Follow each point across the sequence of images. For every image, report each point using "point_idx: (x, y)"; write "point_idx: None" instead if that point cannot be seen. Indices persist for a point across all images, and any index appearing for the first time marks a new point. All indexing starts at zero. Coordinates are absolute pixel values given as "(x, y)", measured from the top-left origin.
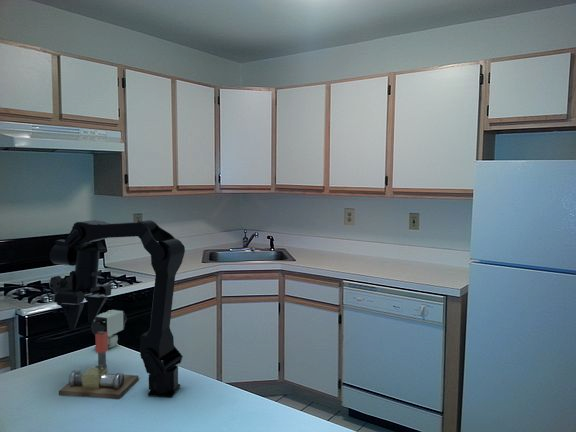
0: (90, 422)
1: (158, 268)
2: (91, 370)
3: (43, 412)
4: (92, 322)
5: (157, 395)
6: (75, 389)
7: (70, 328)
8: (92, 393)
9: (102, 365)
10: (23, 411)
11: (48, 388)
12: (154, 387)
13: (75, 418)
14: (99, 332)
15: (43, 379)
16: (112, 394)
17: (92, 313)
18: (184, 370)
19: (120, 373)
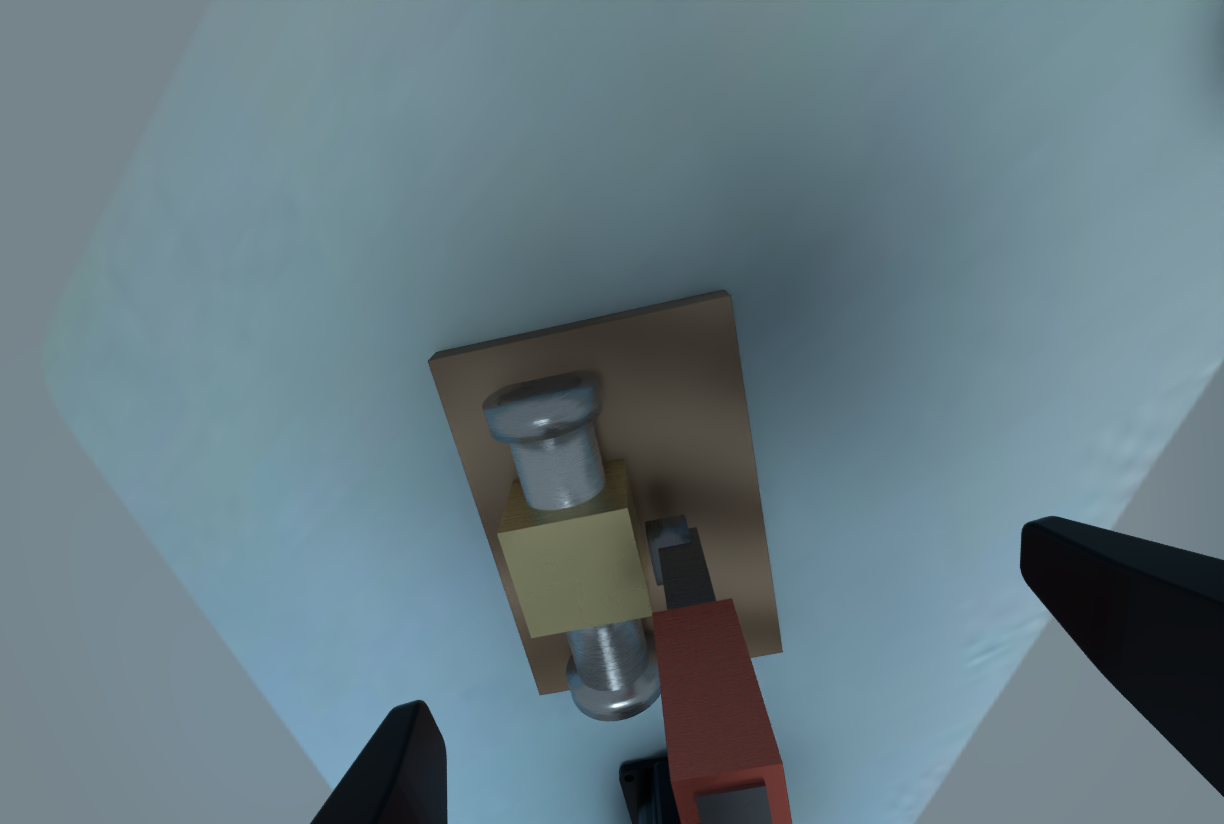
0: (310, 695)
1: None
2: (576, 548)
3: (246, 433)
4: (1027, 576)
5: (628, 806)
6: (485, 450)
7: (396, 722)
8: (496, 564)
9: (658, 583)
10: (186, 314)
11: (477, 198)
12: (645, 817)
13: (298, 618)
14: (731, 795)
15: (579, 10)
16: (530, 662)
17: (1203, 691)
18: (947, 764)
19: (625, 714)
